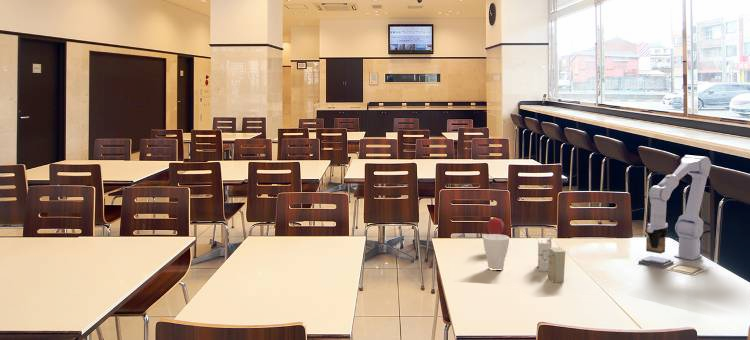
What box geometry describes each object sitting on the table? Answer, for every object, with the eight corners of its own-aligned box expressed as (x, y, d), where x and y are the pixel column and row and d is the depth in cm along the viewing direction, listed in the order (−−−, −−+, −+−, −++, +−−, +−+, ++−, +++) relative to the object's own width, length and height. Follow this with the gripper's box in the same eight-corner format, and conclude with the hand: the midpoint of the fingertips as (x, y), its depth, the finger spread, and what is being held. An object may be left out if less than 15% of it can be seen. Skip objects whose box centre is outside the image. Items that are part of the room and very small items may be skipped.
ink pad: (649, 259, 265) (649, 255, 264) (673, 263, 257) (673, 259, 257) (638, 263, 258) (638, 259, 258) (662, 268, 251) (662, 264, 250)
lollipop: (487, 252, 279) (487, 219, 277) (486, 247, 287) (487, 216, 285) (504, 252, 278) (504, 220, 276) (503, 248, 285) (504, 216, 283)
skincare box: (547, 278, 240) (548, 247, 238) (558, 277, 240) (559, 247, 239) (553, 282, 233) (554, 251, 232) (564, 282, 234) (565, 251, 232)
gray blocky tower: (537, 265, 257) (538, 231, 255) (549, 266, 256) (550, 231, 254) (538, 271, 249) (539, 235, 247) (551, 272, 248) (552, 236, 246)
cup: (510, 266, 256) (510, 234, 254) (507, 273, 246) (507, 240, 244) (484, 264, 259) (485, 233, 257) (480, 271, 249) (481, 238, 247)
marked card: (677, 264, 256) (677, 263, 256) (705, 269, 248) (705, 268, 248) (665, 269, 249) (665, 268, 249) (694, 275, 241) (694, 274, 241)
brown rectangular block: (650, 249, 261) (651, 235, 260) (664, 251, 256) (665, 237, 256) (646, 251, 258) (646, 237, 258) (660, 253, 254) (660, 239, 253)
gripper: (656, 211, 263) (655, 242, 264) (640, 215, 253) (639, 248, 255) (673, 213, 257) (671, 245, 259) (657, 218, 248) (656, 251, 250)
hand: (656, 246), depth 257 cm, fingers closed on brown rectangular block, 4 cm apart
